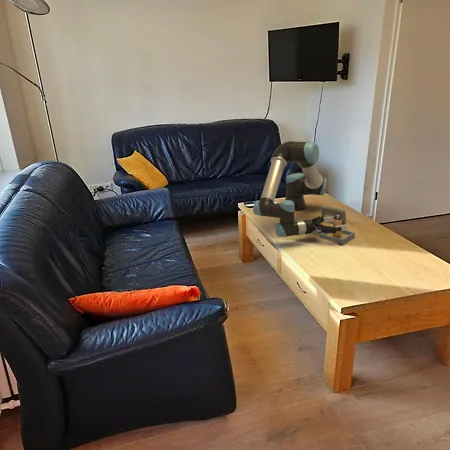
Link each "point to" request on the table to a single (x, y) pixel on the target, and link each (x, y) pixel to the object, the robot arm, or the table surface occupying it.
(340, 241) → the tray
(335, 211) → the digital clock
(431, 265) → the table surface
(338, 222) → the cell
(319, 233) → the checker pad
